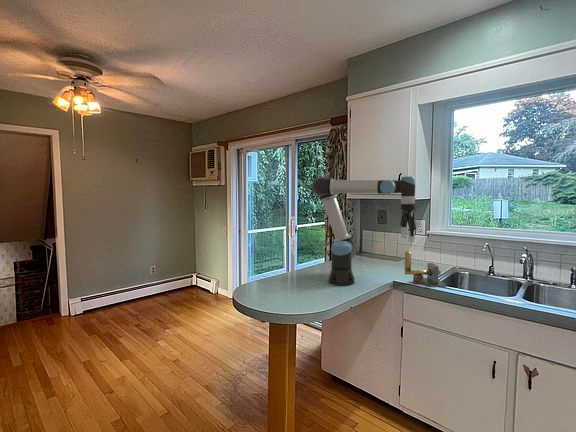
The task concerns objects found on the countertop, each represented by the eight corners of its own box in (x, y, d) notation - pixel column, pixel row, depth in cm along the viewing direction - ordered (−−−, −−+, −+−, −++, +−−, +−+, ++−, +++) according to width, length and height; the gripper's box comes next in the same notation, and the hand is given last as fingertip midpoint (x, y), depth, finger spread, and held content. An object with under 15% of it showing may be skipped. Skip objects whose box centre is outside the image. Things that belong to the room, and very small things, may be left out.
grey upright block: (427, 286, 176) (428, 267, 175) (419, 279, 190) (420, 261, 189) (446, 286, 175) (446, 268, 174) (436, 279, 189) (437, 262, 188)
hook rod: (405, 275, 182) (405, 252, 180) (403, 273, 185) (404, 251, 184) (441, 275, 180) (441, 252, 179) (438, 273, 183) (439, 251, 182)
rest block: (415, 283, 181) (416, 275, 180) (413, 281, 186) (413, 273, 185) (423, 283, 180) (423, 276, 180) (420, 281, 185) (420, 273, 185)
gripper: (422, 204, 169) (421, 243, 171) (407, 202, 194) (407, 236, 196) (408, 204, 170) (407, 243, 172) (395, 202, 194) (394, 236, 196)
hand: (407, 239), depth 184 cm, fingers open, 13 cm apart
